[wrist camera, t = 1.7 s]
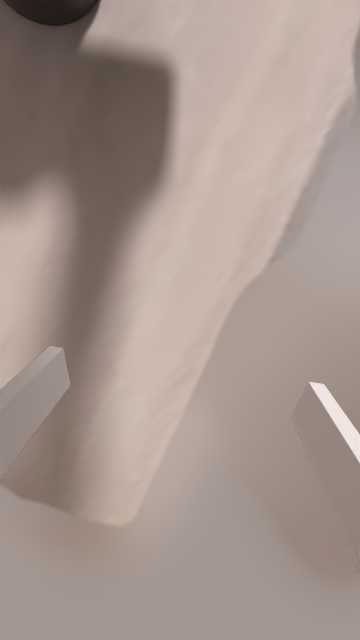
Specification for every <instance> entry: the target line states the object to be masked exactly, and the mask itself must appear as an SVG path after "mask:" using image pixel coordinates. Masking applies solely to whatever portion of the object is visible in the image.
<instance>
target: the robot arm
mask: <svg viewBox="0 0 360 640" xmlns="http://www.w3.org/2000/svg"><path fill="white" fill-rule="evenodd" d="M4 1H5V2H6V3H7V4H9V5H10V6H11V7H12V8H13V9H15V10H16V11H17V12H19V13H20V14H22V15H24V16H25V17H27V18H29V19H32V20H34V21H37V22H41V23H45V24H64V23H68V22H71V21H74V20H76V19H78V18H80V17H81V16H83V15H84V14H85V13H86V12H88V11H89V10H90V8H91V7H92V6H93V5H94V4H95V2H96V0H4ZM69 387H70V380H69V375H68V369H67V364H66V359H65V354H64V349H63V348H61V347H53V346H49V347H48V348H47V349H46V350H45V351H43V352H42V353H41V354H40V355H39V356H38V357H37V358H36V359H34V360H33V361H32V362H31V363H30V364H29V365H28V366H26V367H25V368H24V369H23V370H22V371H21V372H20V373H19V374H17V375H16V376H15V377H14V378H13V379H12V380H11V381H10V382H8V383H7V384H6V385H5V386H4V387H3V388H2V389H1V390H0V479H1V477H2V476H3V475H4V473H5V472H6V471H7V469H8V468H9V467H10V465H11V464H12V463H13V461H14V460H15V459H16V457H17V456H18V455H19V453H20V452H21V451H22V449H23V448H24V447H25V445H26V444H27V443H28V441H29V440H30V439H31V437H32V436H33V435H34V433H35V432H36V431H37V429H38V428H39V427H40V425H41V424H42V423H43V421H44V420H45V419H46V417H47V416H48V415H49V413H50V412H51V411H52V409H53V408H54V407H55V405H56V404H57V403H58V401H59V400H60V399H61V397H62V396H63V395H64V393H65V392H66V391H67V389H68V388H69ZM291 420H292V422H293V424H294V426H295V429H296V431H297V433H298V436H299V438H300V440H301V443H302V445H303V447H304V450H305V452H306V454H307V457H308V459H309V461H310V463H311V466H312V468H313V470H314V472H315V475H316V477H317V480H318V482H319V484H320V486H321V489H322V491H323V493H324V496H325V498H326V500H327V503H328V505H329V507H330V510H331V512H332V514H333V517H334V519H335V521H336V523H337V526H338V528H339V530H340V533H341V535H342V537H343V540H344V542H345V544H346V546H347V549H348V551H349V554H350V556H351V558H352V560H353V563H354V564H355V567H356V569H357V572H358V574H359V576H360V435H359V433H358V432H357V431H356V429H355V428H354V426H353V425H352V423H351V422H350V421H349V419H348V418H347V416H346V415H345V413H344V412H343V411H342V410H341V408H340V406H339V405H338V404H337V402H336V401H335V399H334V398H333V397H332V395H331V394H330V392H329V391H328V390H327V388H326V387H325V385H324V384H320V383H312V382H309V383H308V384H307V386H306V388H305V390H304V392H303V394H302V396H301V398H300V400H299V402H298V404H297V406H296V408H295V410H294V411H293V413H292V415H291Z"/></svg>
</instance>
